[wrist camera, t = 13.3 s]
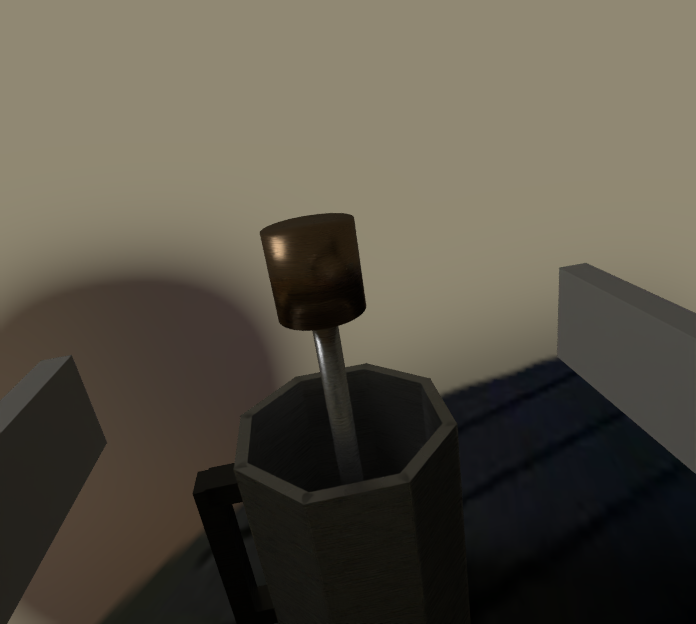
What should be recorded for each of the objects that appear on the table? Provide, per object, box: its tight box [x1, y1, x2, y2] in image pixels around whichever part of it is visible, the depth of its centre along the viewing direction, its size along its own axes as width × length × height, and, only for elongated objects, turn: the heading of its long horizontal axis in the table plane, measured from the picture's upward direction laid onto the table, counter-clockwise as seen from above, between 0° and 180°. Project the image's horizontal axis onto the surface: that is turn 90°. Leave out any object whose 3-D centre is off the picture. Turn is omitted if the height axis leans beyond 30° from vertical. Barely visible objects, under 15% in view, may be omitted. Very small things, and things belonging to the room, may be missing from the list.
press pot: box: [193, 363, 471, 624], centre depth 27 cm, size 13×11×17 cm
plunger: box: [260, 213, 366, 485], centre depth 25 cm, size 7×7×25 cm
